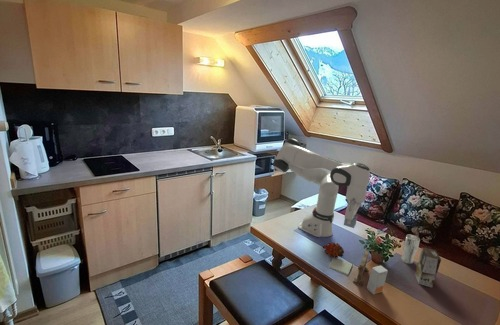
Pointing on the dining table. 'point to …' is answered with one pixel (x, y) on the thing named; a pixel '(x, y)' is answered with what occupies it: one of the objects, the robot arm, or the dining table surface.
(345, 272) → the coaster
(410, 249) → the beer glass
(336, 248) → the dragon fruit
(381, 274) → the skincare box
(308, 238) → the dining table surface
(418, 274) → the coffee box
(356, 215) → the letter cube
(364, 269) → the brown flat upright piece
